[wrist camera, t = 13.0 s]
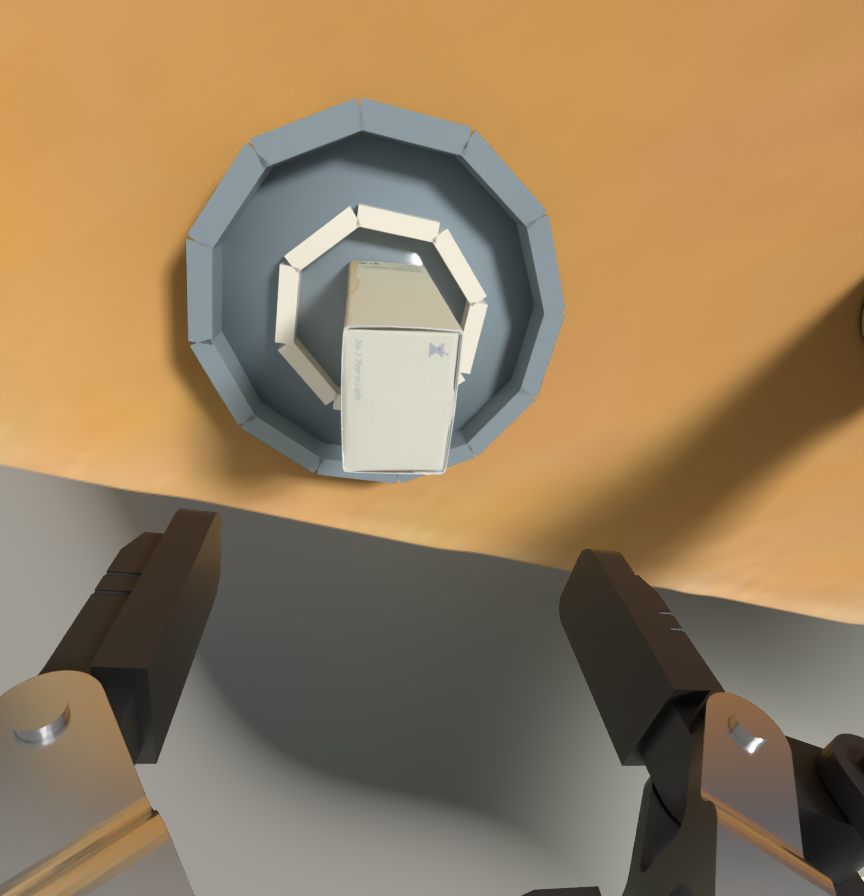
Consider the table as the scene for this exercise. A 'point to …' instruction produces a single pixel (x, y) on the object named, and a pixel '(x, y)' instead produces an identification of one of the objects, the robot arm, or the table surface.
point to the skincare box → (397, 371)
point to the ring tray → (367, 239)
